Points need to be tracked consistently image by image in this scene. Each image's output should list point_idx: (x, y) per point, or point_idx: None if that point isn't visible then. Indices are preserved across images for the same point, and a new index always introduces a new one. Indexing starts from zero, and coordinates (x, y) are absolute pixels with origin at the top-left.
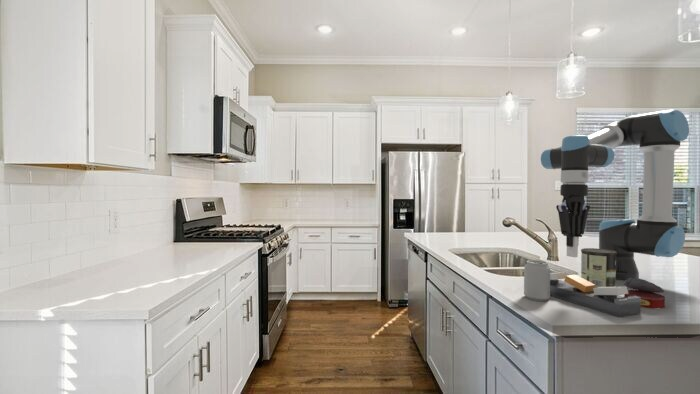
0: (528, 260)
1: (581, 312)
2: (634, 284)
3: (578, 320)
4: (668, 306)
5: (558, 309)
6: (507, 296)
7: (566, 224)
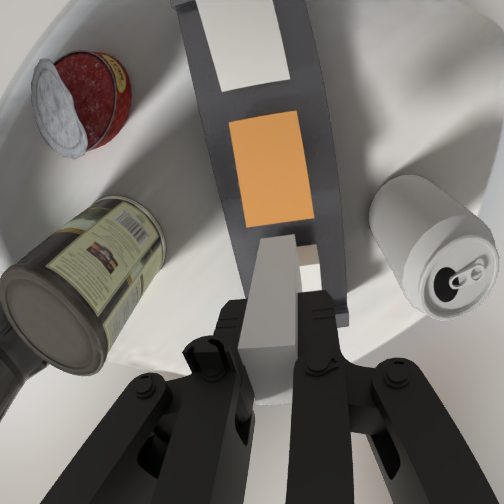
0: (462, 315)
1: (381, 48)
2: (70, 117)
3: (440, 12)
4: None
5: (429, 95)
6: None
7: (477, 471)
